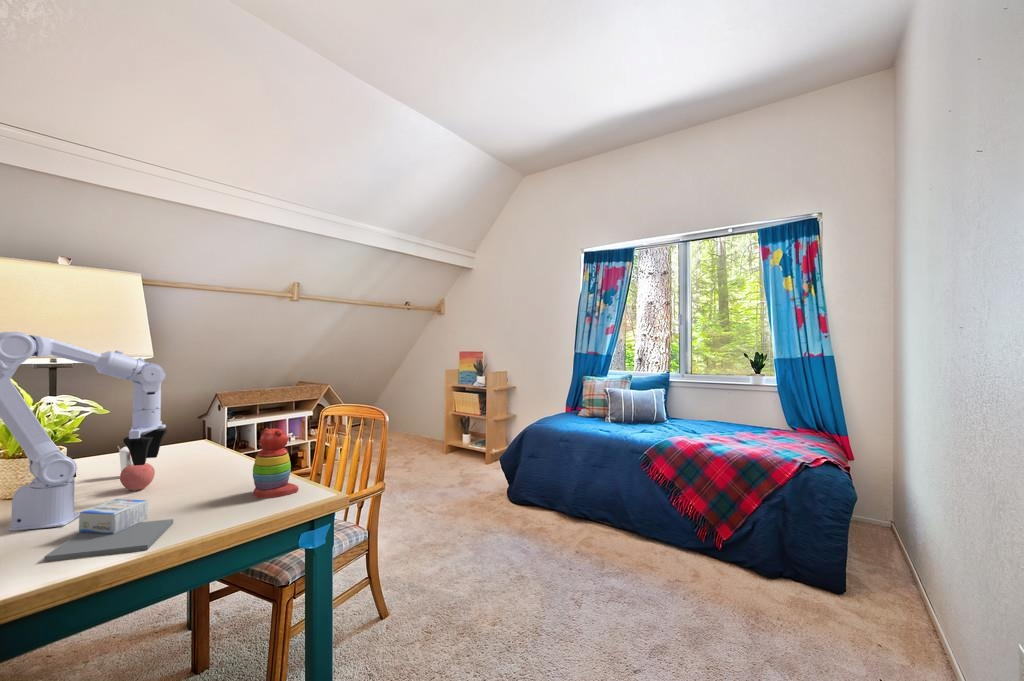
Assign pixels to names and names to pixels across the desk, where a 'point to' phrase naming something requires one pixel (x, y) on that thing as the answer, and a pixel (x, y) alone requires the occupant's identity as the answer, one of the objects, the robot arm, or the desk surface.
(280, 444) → the stacking bear
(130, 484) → the apple
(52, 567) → the desk surface
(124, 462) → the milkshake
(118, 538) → the mat
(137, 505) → the medicine box
